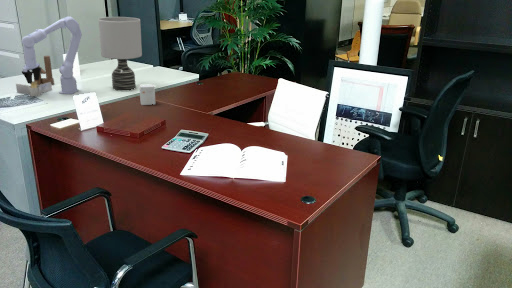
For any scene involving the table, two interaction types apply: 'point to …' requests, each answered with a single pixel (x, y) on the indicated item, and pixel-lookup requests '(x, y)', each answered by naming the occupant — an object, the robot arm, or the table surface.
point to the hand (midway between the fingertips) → (33, 81)
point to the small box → (147, 94)
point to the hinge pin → (34, 84)
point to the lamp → (121, 47)
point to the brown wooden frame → (46, 72)
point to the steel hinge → (34, 89)
